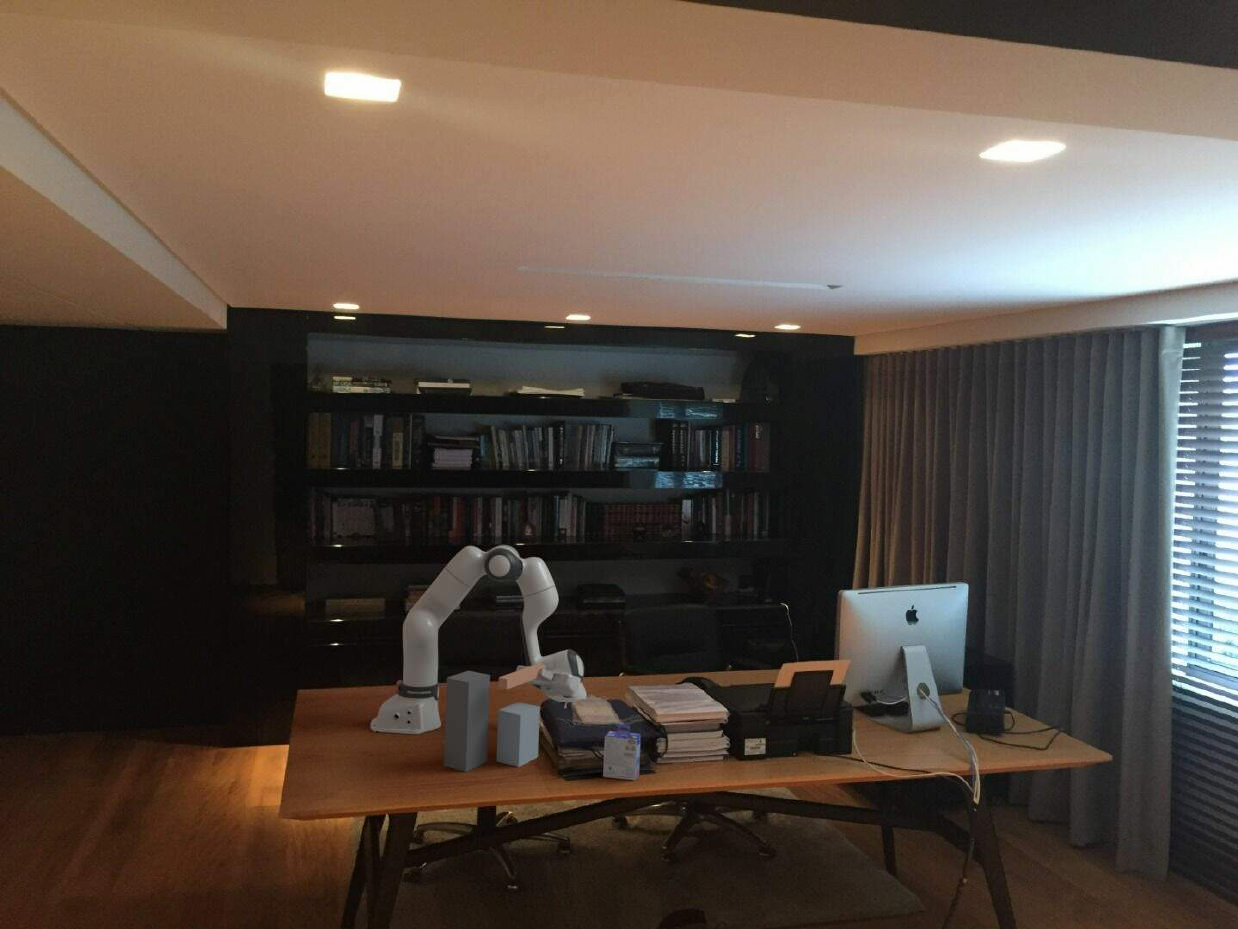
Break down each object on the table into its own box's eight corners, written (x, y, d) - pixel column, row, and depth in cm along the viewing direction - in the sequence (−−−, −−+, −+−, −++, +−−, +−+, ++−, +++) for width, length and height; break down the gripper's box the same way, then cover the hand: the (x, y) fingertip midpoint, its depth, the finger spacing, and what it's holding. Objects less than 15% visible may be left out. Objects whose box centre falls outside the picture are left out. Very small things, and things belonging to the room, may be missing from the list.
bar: (537, 673, 305) (537, 663, 305) (545, 674, 303) (545, 665, 303) (498, 688, 287) (498, 677, 287) (506, 689, 286) (507, 679, 286)
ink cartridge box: (639, 774, 288) (641, 725, 287) (636, 781, 282) (638, 731, 281) (606, 771, 289) (608, 722, 289) (602, 777, 284) (604, 728, 283)
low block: (516, 752, 302) (517, 702, 301) (537, 757, 298) (539, 706, 297) (496, 761, 293) (498, 709, 293) (518, 767, 289) (520, 715, 289)
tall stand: (465, 756, 296) (468, 670, 295) (486, 762, 293) (489, 675, 291) (443, 766, 288) (446, 677, 286) (465, 772, 284) (468, 682, 283)
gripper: (531, 669, 318) (509, 655, 307) (585, 679, 308) (565, 665, 297) (524, 688, 315) (503, 674, 305) (579, 699, 305) (559, 685, 295)
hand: (534, 670), depth 301 cm, fingers closed on bar, 3 cm apart
